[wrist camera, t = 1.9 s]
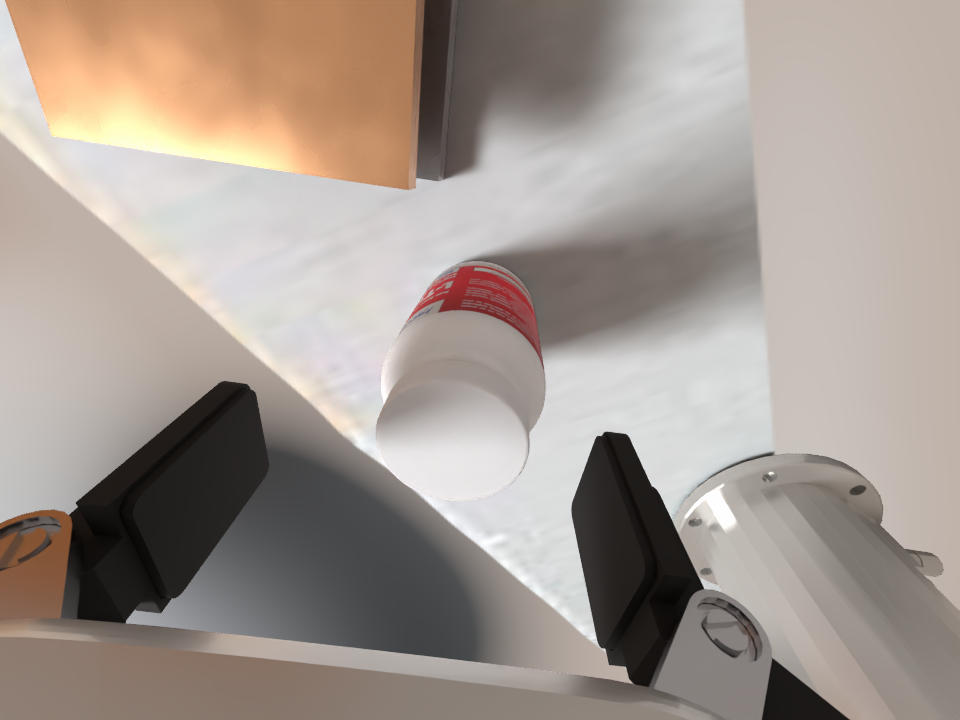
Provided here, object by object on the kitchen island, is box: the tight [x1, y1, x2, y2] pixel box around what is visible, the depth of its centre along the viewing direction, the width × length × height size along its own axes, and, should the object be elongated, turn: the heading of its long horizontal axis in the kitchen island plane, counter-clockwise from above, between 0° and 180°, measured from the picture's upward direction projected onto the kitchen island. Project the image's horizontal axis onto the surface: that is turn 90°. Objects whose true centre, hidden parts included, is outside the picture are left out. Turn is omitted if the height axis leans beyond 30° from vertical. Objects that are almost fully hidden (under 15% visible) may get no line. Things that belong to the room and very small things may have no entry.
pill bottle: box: [376, 261, 546, 501], centre depth 16 cm, size 6×6×11 cm
